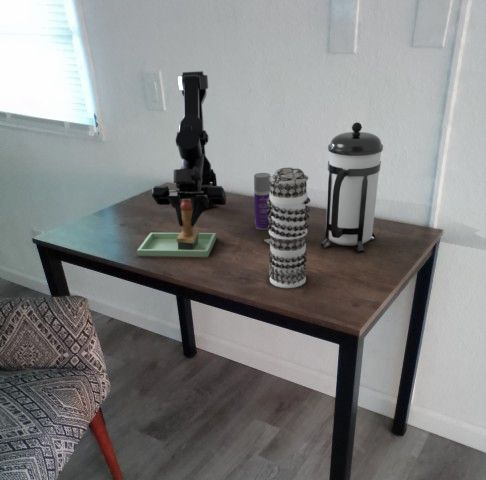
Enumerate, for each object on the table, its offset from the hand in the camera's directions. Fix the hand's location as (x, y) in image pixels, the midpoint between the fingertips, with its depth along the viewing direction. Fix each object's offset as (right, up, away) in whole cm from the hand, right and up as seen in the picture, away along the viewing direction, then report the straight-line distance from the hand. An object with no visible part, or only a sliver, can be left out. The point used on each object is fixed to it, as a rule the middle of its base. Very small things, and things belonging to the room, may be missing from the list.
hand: (186, 226), depth 126 cm
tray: (-3, -5, +5) cm, 8 cm away
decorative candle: (+25, -15, -12) cm, 32 cm away
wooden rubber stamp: (0, -4, +5) cm, 6 cm away
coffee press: (+42, -5, +3) cm, 42 cm away
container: (+21, +3, +16) cm, 26 cm away
